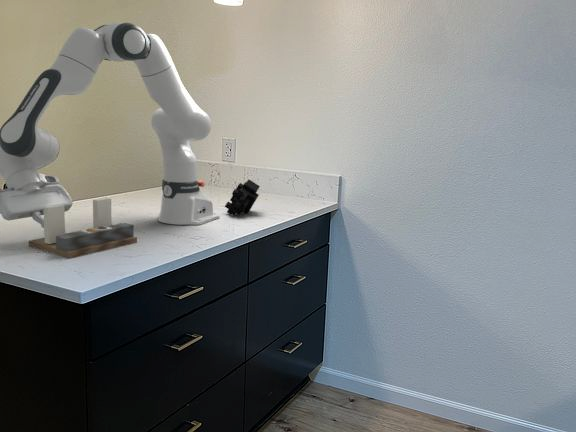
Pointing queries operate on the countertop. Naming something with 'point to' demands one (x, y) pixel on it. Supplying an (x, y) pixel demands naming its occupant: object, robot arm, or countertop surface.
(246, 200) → the toy
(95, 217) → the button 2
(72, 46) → the robot arm
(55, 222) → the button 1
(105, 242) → the console
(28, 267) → the countertop surface
